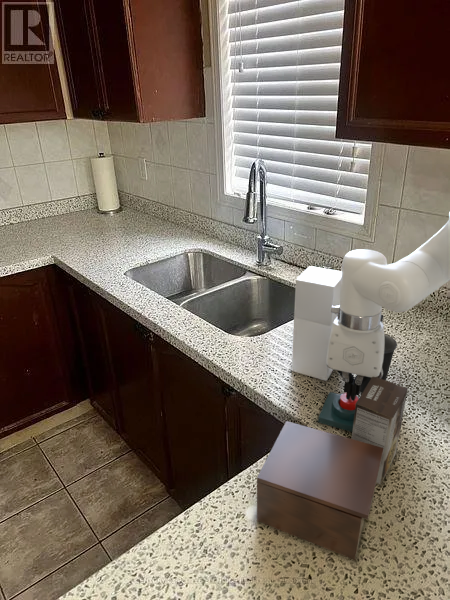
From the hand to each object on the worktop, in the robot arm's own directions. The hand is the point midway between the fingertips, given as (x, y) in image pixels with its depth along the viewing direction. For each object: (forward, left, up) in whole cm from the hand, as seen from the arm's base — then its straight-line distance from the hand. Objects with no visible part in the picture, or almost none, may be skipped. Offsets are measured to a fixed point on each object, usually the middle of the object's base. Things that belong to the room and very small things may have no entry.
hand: (351, 395), depth 91 cm
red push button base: (0, 0, -6) cm, 6 cm away
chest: (0, +24, -6) cm, 25 cm away
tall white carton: (+11, -15, -6) cm, 20 cm away
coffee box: (-6, +10, -6) cm, 14 cm away
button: (0, 0, -3) cm, 3 cm away
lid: (0, +24, +4) cm, 24 cm away
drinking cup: (-3, -11, -6) cm, 13 cm away
